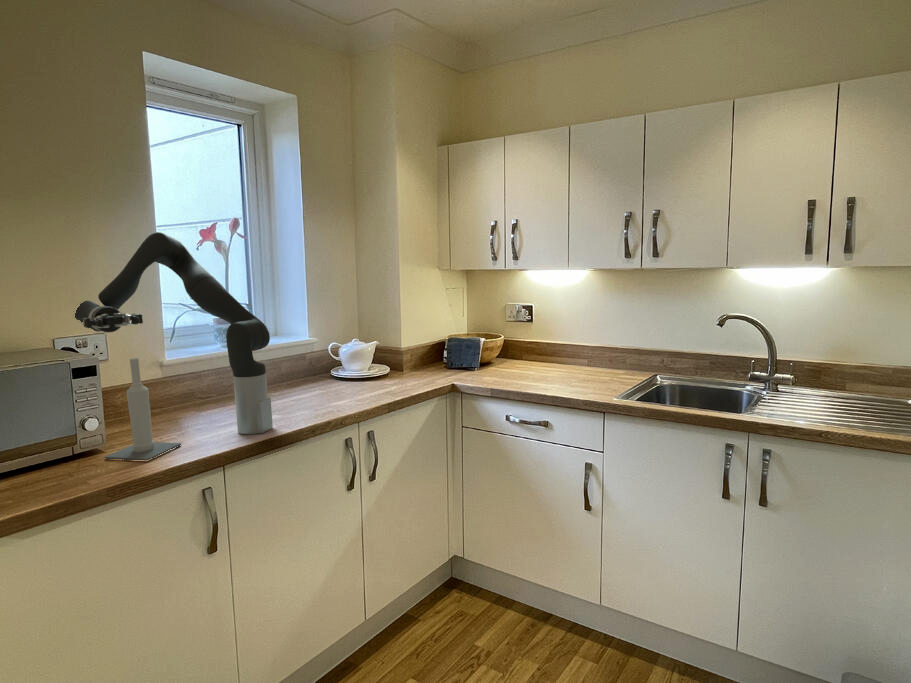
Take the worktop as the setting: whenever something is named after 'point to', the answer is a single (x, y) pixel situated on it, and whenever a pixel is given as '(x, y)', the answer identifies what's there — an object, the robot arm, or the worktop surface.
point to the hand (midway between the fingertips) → (119, 322)
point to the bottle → (139, 411)
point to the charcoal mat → (131, 455)
